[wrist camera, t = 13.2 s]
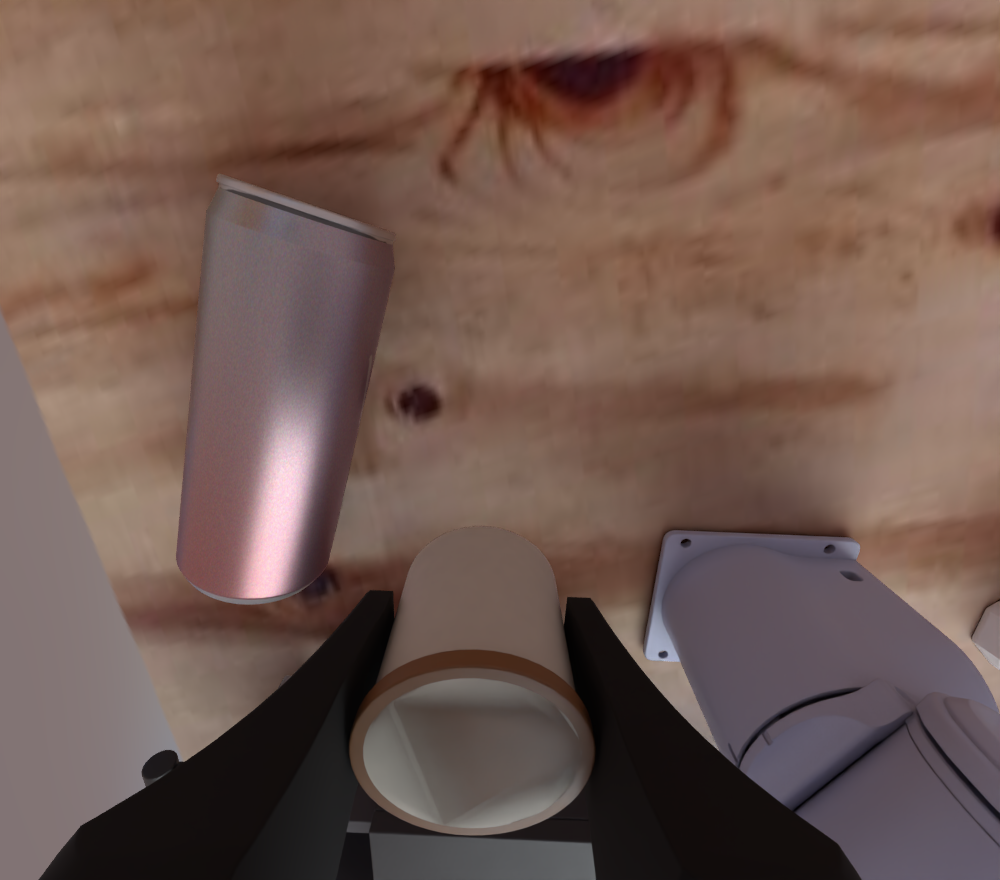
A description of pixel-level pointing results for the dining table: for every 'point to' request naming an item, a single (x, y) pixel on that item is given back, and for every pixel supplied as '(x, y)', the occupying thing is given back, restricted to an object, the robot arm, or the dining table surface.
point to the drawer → (356, 849)
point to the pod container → (475, 693)
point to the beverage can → (276, 388)
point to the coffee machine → (485, 850)
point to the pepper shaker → (989, 635)
